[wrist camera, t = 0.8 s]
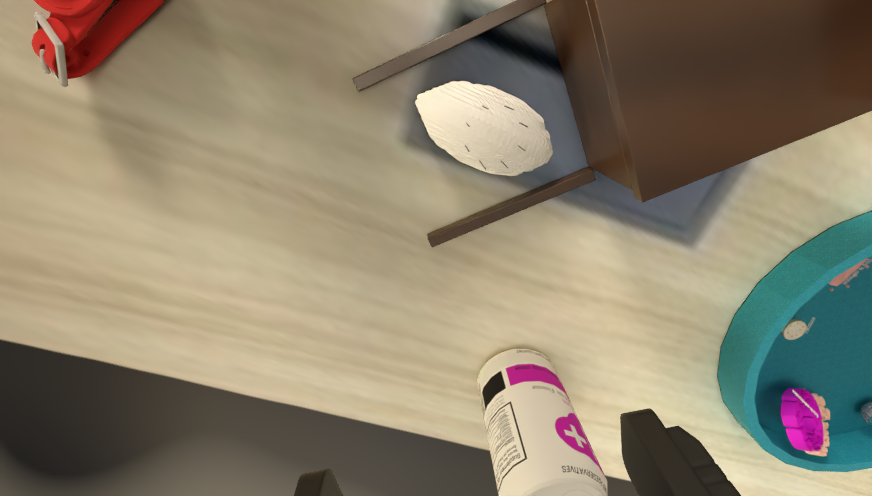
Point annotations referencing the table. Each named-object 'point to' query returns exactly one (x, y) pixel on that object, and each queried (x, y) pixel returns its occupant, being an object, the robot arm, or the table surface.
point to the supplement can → (535, 430)
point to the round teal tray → (808, 354)
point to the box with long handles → (683, 84)
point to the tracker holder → (84, 33)
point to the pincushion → (485, 127)
